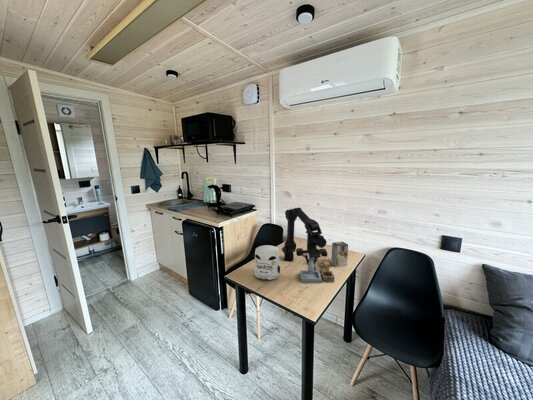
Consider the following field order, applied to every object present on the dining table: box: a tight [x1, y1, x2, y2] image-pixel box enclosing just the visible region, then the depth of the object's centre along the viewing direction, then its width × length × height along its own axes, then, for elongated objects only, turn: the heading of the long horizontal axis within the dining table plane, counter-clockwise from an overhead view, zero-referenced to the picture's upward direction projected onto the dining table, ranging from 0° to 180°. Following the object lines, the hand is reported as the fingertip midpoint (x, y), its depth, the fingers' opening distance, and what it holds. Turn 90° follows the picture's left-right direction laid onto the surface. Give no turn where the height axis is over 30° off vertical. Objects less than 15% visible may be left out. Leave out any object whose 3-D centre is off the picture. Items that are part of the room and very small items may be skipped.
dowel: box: [307, 257, 315, 273], centre depth 137 cm, size 4×4×9 cm
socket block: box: [320, 270, 335, 283], centre depth 138 cm, size 7×7×4 cm
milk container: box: [253, 244, 281, 281], centre depth 141 cm, size 17×17×18 cm
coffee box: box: [330, 241, 349, 268], centre depth 155 cm, size 9×6×16 cm
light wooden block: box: [323, 261, 331, 271], centre depth 149 cm, size 3×4×5 cm
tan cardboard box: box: [314, 263, 326, 274], centre depth 149 cm, size 6×9×2 cm, turn 177°
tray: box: [299, 269, 323, 284], centre depth 139 cm, size 12×10×2 cm
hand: (310, 264), depth 137 cm, fingers closed on dowel, 4 cm apart
